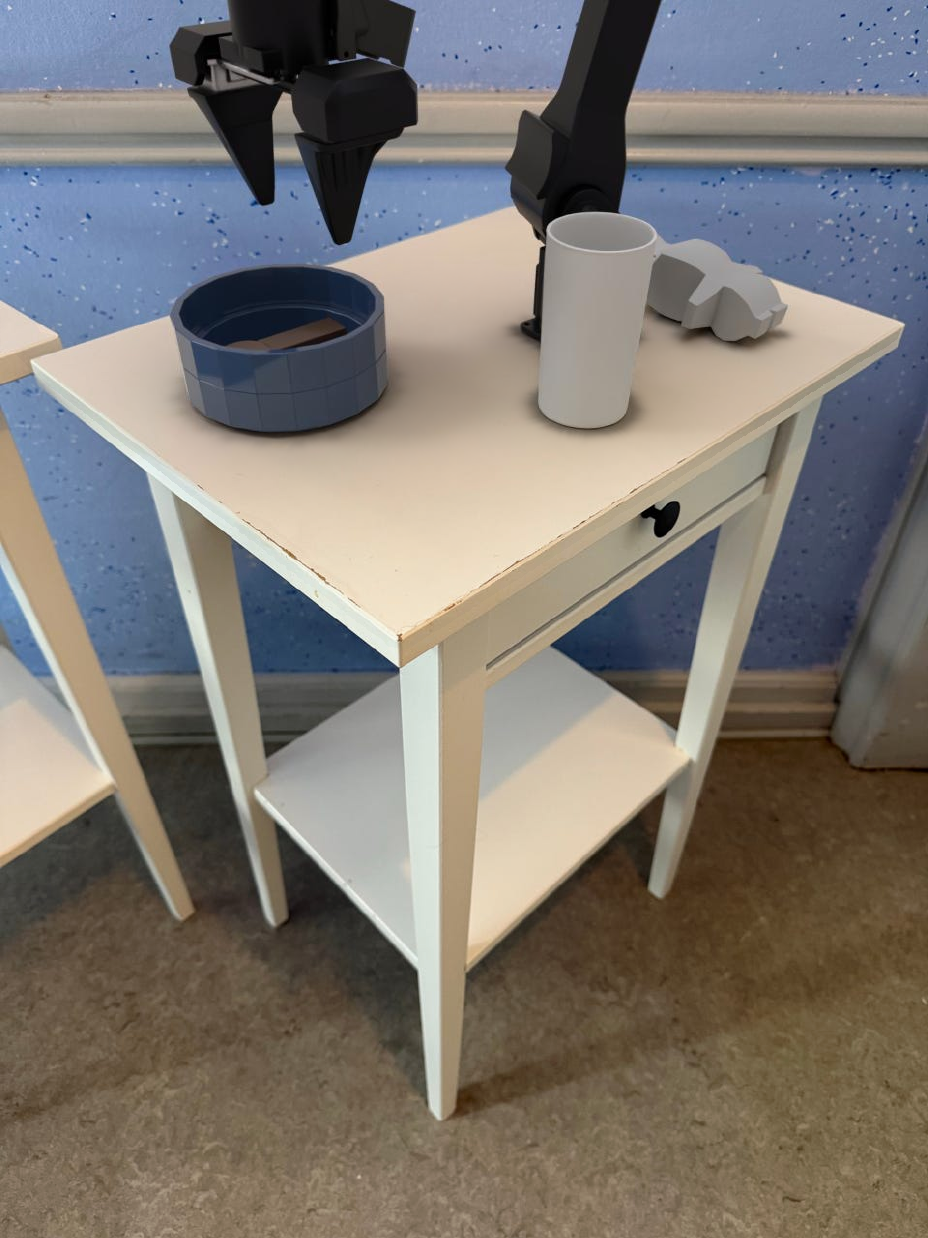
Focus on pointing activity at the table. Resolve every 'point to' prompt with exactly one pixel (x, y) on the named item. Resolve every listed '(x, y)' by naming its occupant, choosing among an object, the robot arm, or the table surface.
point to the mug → (592, 315)
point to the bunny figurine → (712, 290)
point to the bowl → (281, 379)
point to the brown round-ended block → (297, 337)
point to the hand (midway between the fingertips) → (303, 222)
